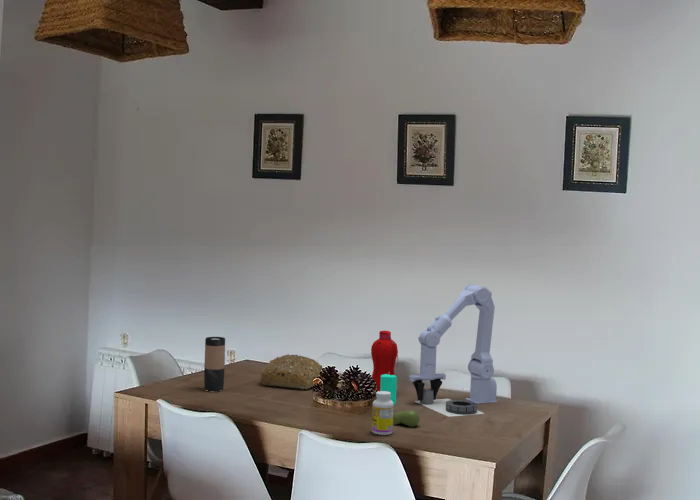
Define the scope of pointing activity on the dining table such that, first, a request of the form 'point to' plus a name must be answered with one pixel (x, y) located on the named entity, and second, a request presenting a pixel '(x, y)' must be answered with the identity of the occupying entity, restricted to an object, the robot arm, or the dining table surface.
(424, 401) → the cap
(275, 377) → the bread
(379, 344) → the water bottle
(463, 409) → the toothed grey gear
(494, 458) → the dining table surface
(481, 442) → the dining table surface
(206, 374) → the travel mug
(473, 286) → the robot arm
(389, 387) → the candle
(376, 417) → the supplement bottle
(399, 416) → the pear
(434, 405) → the mat
